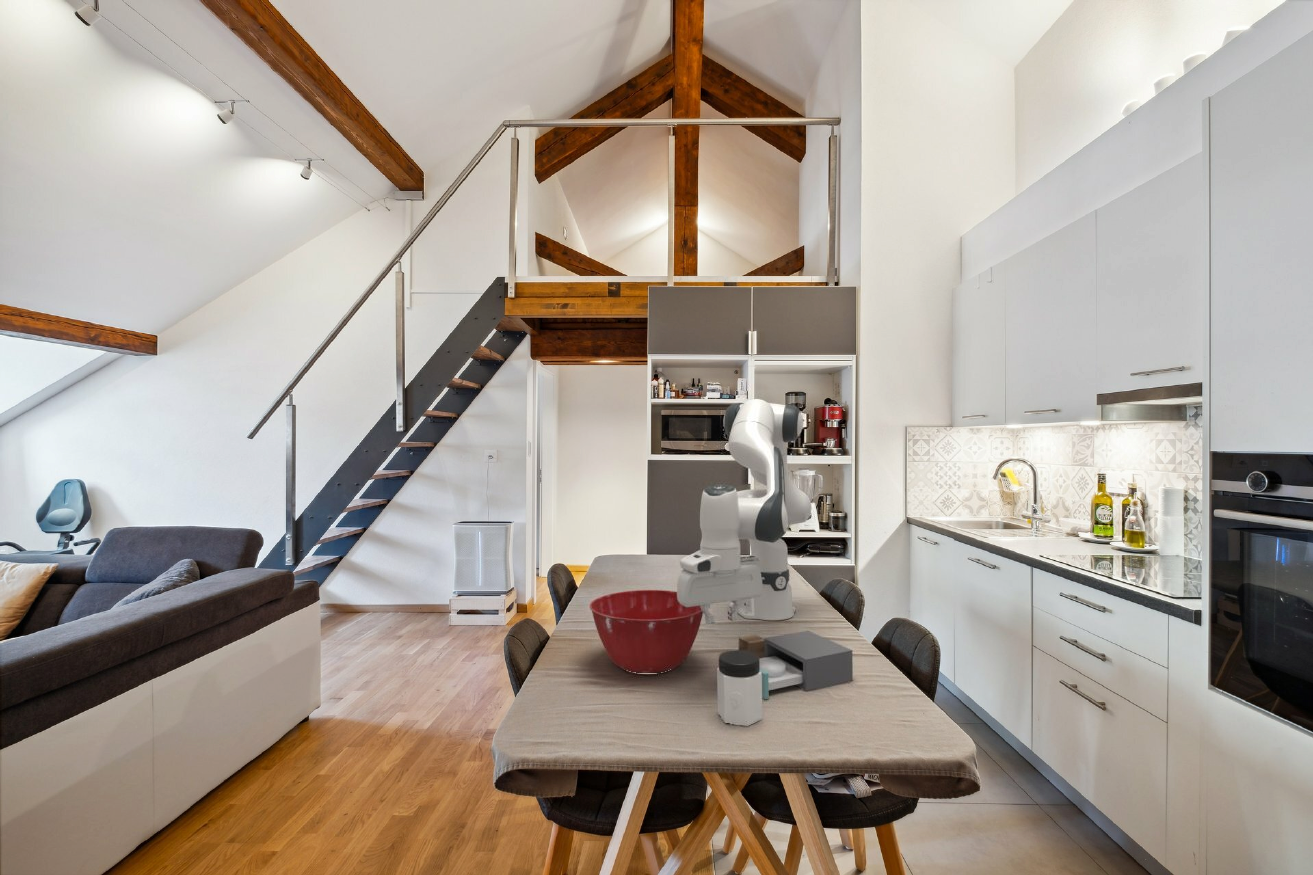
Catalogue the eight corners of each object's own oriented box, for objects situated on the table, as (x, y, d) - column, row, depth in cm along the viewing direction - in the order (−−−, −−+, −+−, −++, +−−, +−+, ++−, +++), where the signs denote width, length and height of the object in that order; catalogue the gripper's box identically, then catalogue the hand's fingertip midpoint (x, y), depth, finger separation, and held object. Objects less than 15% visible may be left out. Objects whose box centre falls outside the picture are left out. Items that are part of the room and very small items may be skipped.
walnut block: (739, 657, 158) (738, 637, 158) (755, 653, 160) (755, 634, 160) (749, 663, 154) (749, 643, 154) (766, 660, 156) (766, 640, 156)
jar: (713, 723, 122) (712, 662, 122) (721, 705, 130) (721, 648, 130) (759, 728, 120) (758, 666, 120) (765, 710, 127) (764, 652, 127)
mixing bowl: (637, 638, 174) (636, 583, 174) (727, 658, 157) (726, 597, 157) (566, 671, 151) (565, 607, 151) (663, 698, 134) (662, 626, 134)
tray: (726, 673, 147) (726, 651, 147) (771, 665, 152) (771, 642, 152) (764, 699, 132) (764, 673, 132) (812, 688, 138) (812, 664, 138)
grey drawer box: (764, 666, 151) (764, 638, 151) (808, 658, 157) (807, 630, 157) (806, 691, 137) (805, 659, 137) (852, 680, 142) (852, 650, 142)
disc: (774, 664, 147) (774, 657, 147) (791, 674, 141) (791, 666, 141) (750, 669, 144) (750, 661, 144) (767, 679, 138) (767, 671, 138)
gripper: (752, 552, 145) (753, 611, 145) (673, 560, 137) (674, 623, 137) (767, 557, 139) (768, 618, 140) (686, 566, 131) (687, 631, 131)
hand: (721, 621), depth 138 cm, fingers open, 4 cm apart
